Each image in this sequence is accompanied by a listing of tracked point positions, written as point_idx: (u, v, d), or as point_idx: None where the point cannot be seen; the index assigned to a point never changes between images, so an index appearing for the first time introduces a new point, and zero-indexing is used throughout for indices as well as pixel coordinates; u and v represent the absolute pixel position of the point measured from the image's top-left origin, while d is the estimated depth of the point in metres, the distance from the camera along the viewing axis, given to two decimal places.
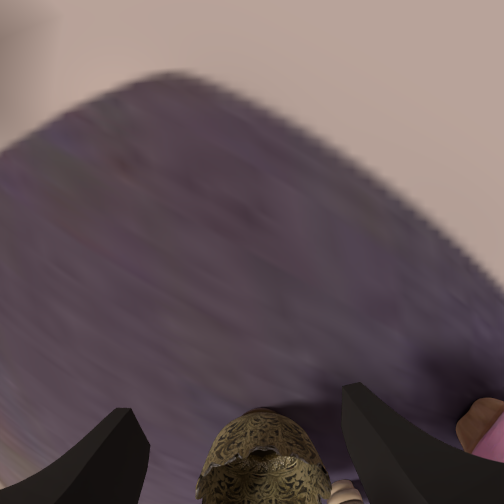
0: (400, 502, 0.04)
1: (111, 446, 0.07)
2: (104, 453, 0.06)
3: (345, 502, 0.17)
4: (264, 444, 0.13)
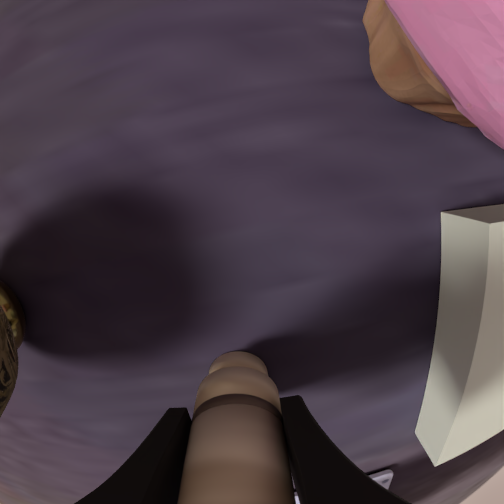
0: None
1: (173, 449, 0.07)
2: (168, 458, 0.06)
3: (196, 411, 0.08)
4: None
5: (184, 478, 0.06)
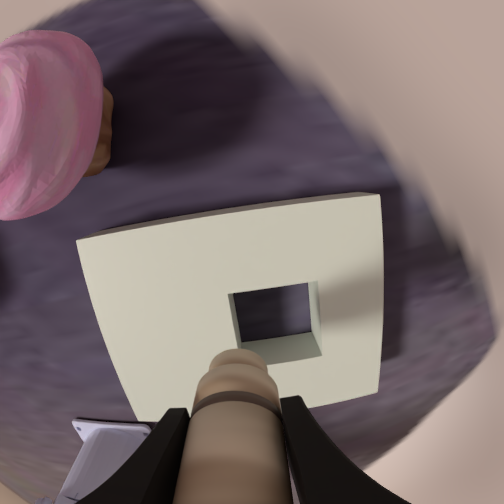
0: None
1: (173, 450, 0.07)
2: (168, 458, 0.06)
3: (194, 409, 0.08)
4: None
5: (180, 476, 0.06)
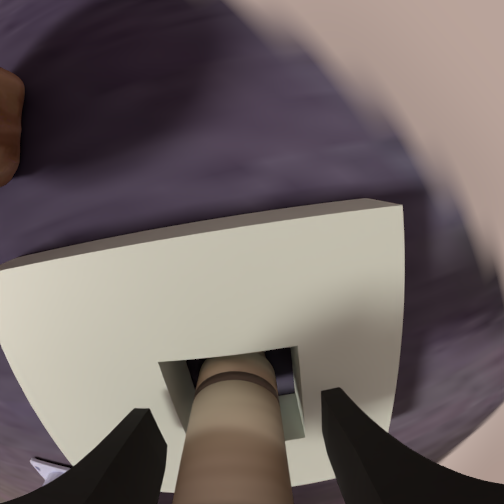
0: None
1: (131, 448, 0.07)
2: (125, 455, 0.06)
3: (198, 389, 0.09)
4: None
5: (185, 448, 0.07)
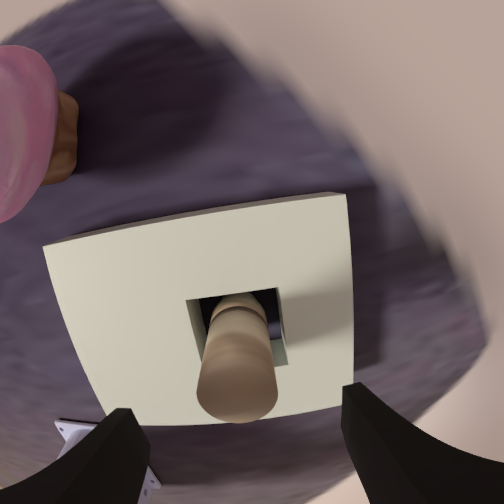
0: (400, 502, 0.04)
1: (111, 446, 0.07)
2: (104, 453, 0.06)
3: (212, 320, 0.15)
4: None
5: (206, 349, 0.12)
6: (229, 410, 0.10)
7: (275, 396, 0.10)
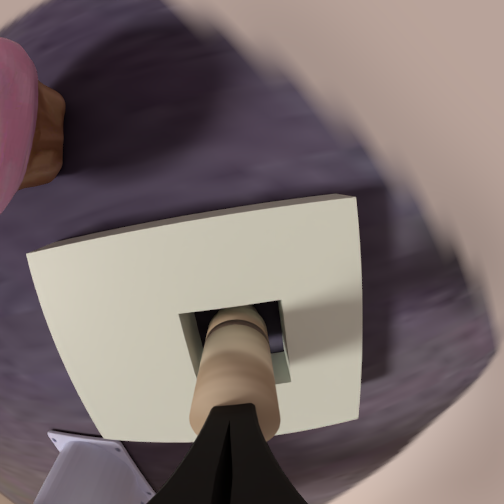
0: None
1: (227, 448, 0.07)
2: (224, 457, 0.06)
3: (208, 334, 0.13)
4: None
5: (200, 369, 0.11)
6: None
7: (277, 423, 0.09)
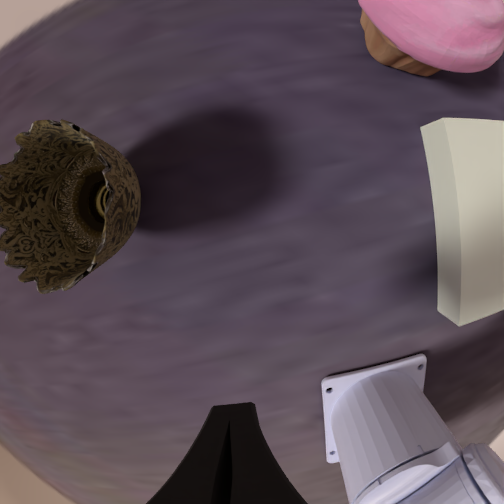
0: None
1: (227, 448, 0.07)
2: (224, 457, 0.06)
3: None
4: (20, 153, 0.11)
5: None
6: None
7: None
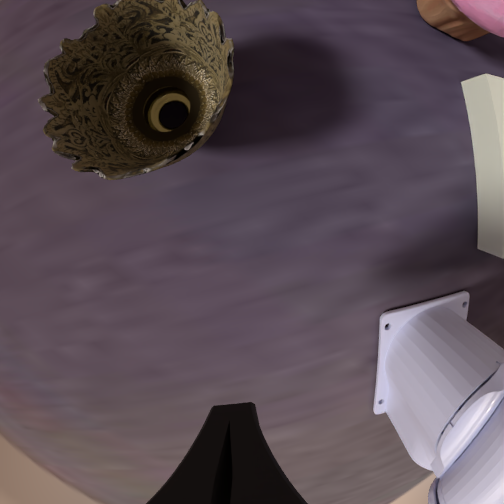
0: None
1: (227, 448, 0.07)
2: (224, 457, 0.06)
3: None
4: (90, 32, 0.09)
5: None
6: None
7: None
